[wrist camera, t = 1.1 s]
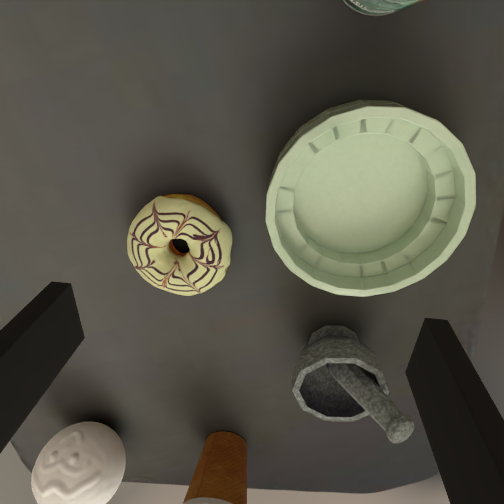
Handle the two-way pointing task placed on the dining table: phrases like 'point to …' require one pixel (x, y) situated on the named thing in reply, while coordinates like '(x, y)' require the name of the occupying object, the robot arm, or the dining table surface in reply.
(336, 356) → the mortar and pestle
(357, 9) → the canned tomato
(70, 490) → the decorative ball
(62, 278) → the dining table surface
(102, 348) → the dining table surface
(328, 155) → the bowl
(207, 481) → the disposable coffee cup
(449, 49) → the dining table surface
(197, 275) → the decorated donut
